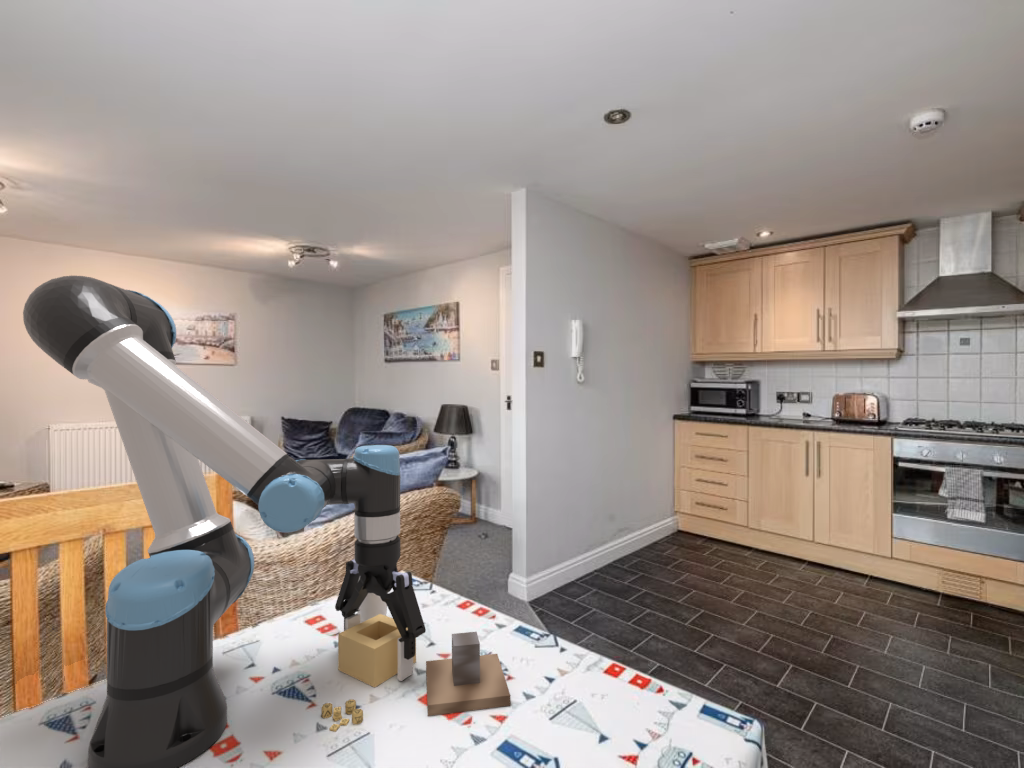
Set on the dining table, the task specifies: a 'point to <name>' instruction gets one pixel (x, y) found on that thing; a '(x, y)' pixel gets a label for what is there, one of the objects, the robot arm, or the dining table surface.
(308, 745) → the dining table surface
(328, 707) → the dice set
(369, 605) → the drinking glass
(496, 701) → the post base
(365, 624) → the collar
